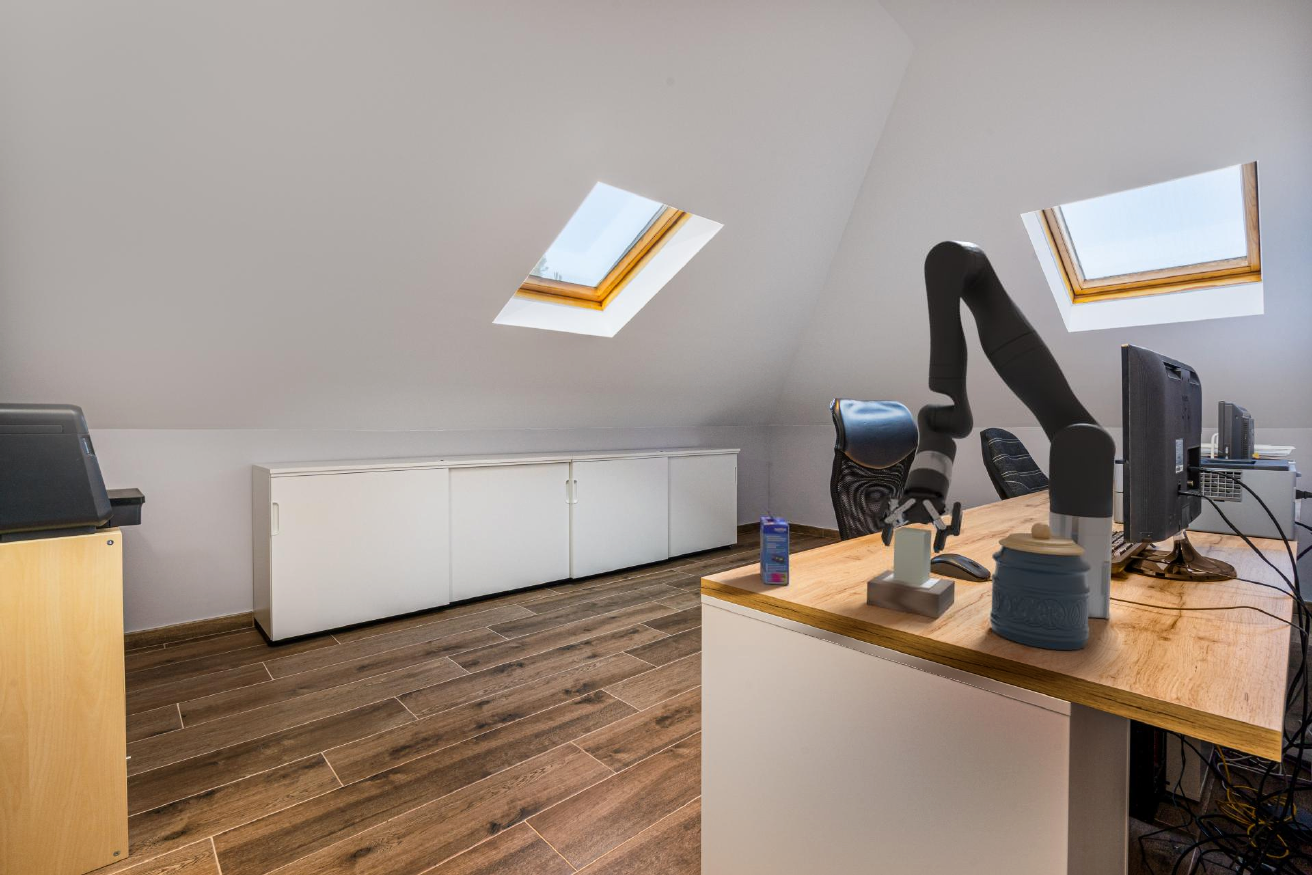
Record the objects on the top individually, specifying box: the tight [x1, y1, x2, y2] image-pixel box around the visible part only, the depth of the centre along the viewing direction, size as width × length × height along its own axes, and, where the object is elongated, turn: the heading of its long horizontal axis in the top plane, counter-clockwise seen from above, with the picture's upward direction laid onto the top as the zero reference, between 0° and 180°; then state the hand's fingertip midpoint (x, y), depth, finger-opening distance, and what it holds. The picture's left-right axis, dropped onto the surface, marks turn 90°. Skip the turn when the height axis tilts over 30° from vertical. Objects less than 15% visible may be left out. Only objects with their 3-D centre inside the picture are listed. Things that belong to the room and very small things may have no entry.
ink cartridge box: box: [759, 507, 790, 586], centre depth 125 cm, size 10×6×14 cm, turn 174°
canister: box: [989, 522, 1092, 651], centre depth 93 cm, size 13×13×18 cm
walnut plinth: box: [866, 569, 956, 619], centre depth 109 cm, size 12×12×4 cm
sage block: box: [892, 526, 932, 585], centre depth 109 cm, size 5×5×9 cm
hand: (910, 547), depth 108 cm, fingers open, 8 cm apart
